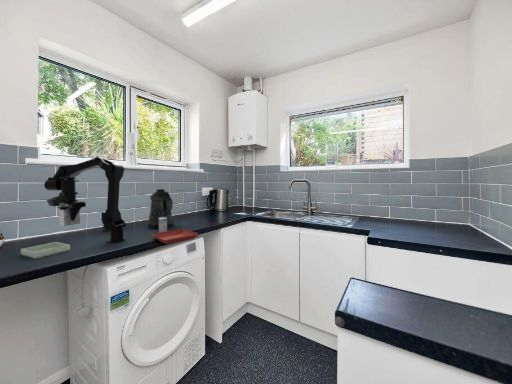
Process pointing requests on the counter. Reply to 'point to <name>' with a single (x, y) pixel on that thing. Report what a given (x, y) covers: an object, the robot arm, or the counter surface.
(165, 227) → the medicine box
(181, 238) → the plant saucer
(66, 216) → the aluminium block
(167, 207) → the dark olive backpack
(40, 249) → the tray
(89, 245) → the counter surface
